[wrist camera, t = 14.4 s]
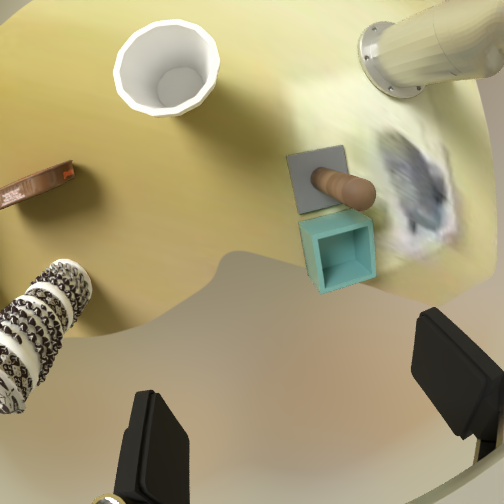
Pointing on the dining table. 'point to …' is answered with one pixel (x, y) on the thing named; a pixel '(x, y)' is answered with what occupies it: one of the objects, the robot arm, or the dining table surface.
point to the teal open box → (338, 249)
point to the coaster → (301, 174)
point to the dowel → (344, 188)
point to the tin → (36, 184)
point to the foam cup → (167, 68)
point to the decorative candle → (38, 329)
